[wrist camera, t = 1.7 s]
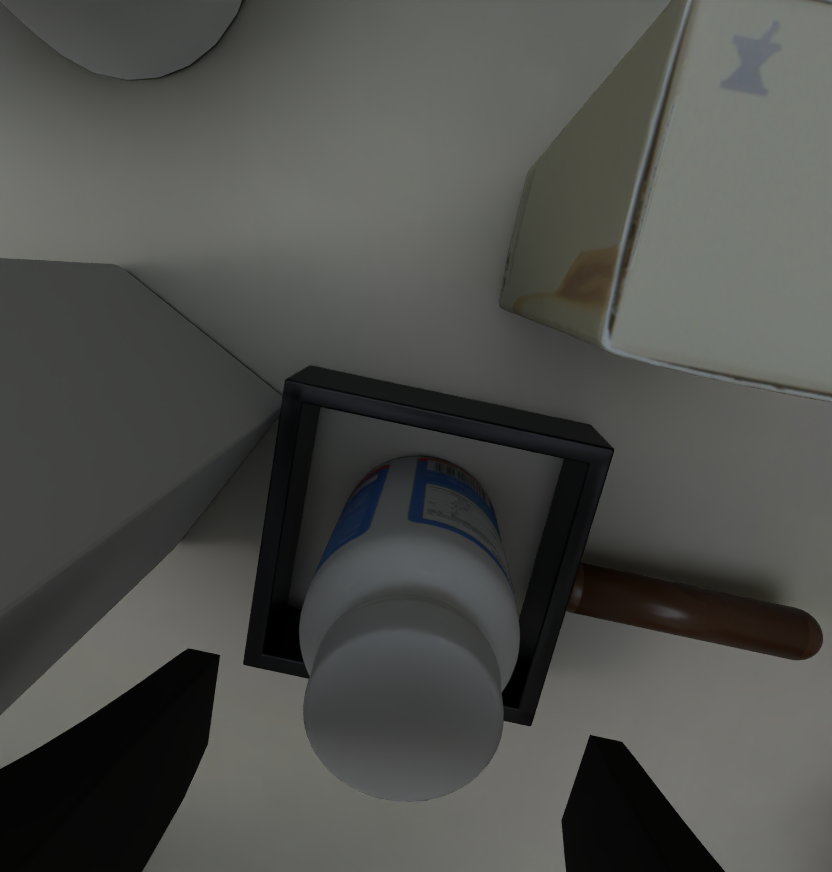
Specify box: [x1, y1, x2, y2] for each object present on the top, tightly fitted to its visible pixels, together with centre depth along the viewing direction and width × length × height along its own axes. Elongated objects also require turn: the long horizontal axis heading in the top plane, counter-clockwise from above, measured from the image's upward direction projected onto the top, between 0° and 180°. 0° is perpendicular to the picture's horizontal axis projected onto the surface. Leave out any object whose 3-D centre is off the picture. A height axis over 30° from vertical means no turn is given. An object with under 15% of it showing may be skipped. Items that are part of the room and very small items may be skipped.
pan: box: [243, 366, 823, 726], centre depth 20 cm, size 18×10×3 cm, turn 78°
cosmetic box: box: [499, 0, 832, 402], centre depth 13 cm, size 6×4×12 cm
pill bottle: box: [299, 456, 520, 802], centre depth 16 cm, size 6×5×10 cm
